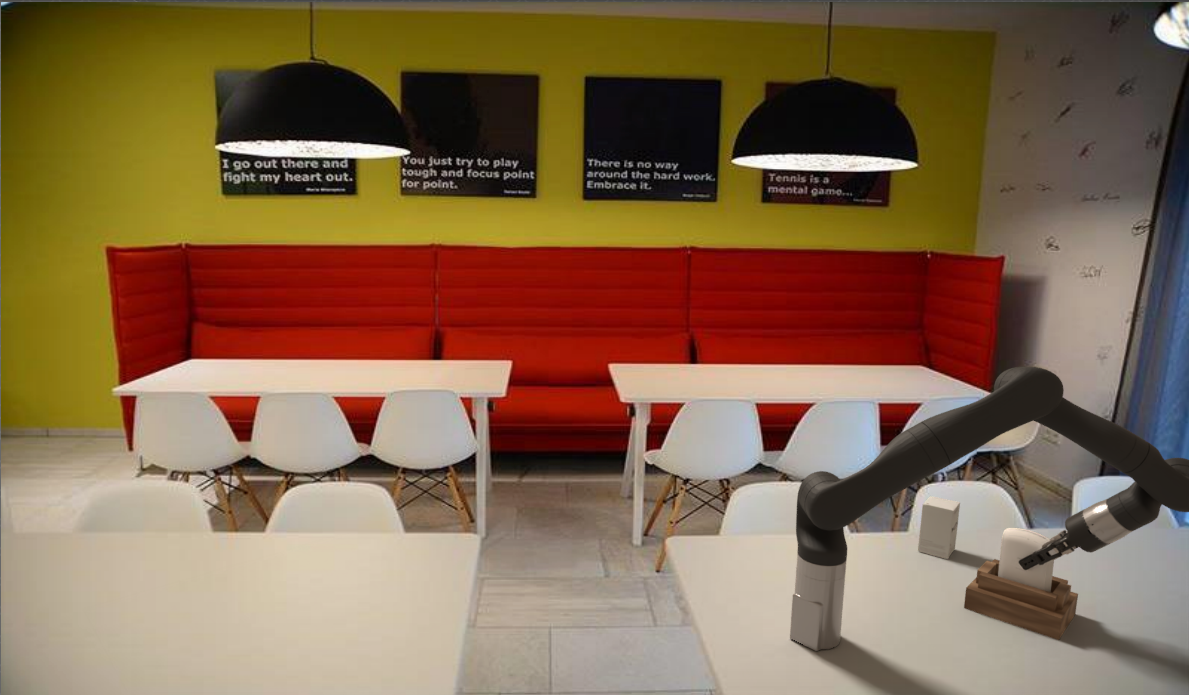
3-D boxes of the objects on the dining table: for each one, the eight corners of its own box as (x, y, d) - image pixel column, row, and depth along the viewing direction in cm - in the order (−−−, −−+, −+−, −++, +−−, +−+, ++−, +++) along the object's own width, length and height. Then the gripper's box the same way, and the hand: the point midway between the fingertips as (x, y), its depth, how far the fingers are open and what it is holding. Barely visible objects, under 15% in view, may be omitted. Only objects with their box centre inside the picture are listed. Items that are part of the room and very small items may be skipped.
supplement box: (948, 560, 191) (953, 510, 189) (916, 551, 196) (921, 503, 193) (956, 549, 197) (961, 501, 195) (925, 541, 202) (929, 494, 199)
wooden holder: (1058, 641, 157) (1063, 604, 155) (963, 609, 169) (967, 574, 167) (1075, 615, 167) (1079, 580, 165) (984, 587, 179) (988, 554, 177)
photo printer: (993, 580, 169) (999, 526, 167) (1002, 574, 172) (1008, 521, 170) (1045, 599, 161) (1052, 542, 159) (1053, 592, 164) (1060, 536, 162)
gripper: (1096, 499, 161) (1026, 537, 172) (1073, 517, 151) (1000, 555, 162) (1123, 532, 158) (1050, 568, 169) (1101, 552, 148) (1025, 589, 159)
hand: (1026, 562), depth 165 cm, fingers closed on photo printer, 4 cm apart
